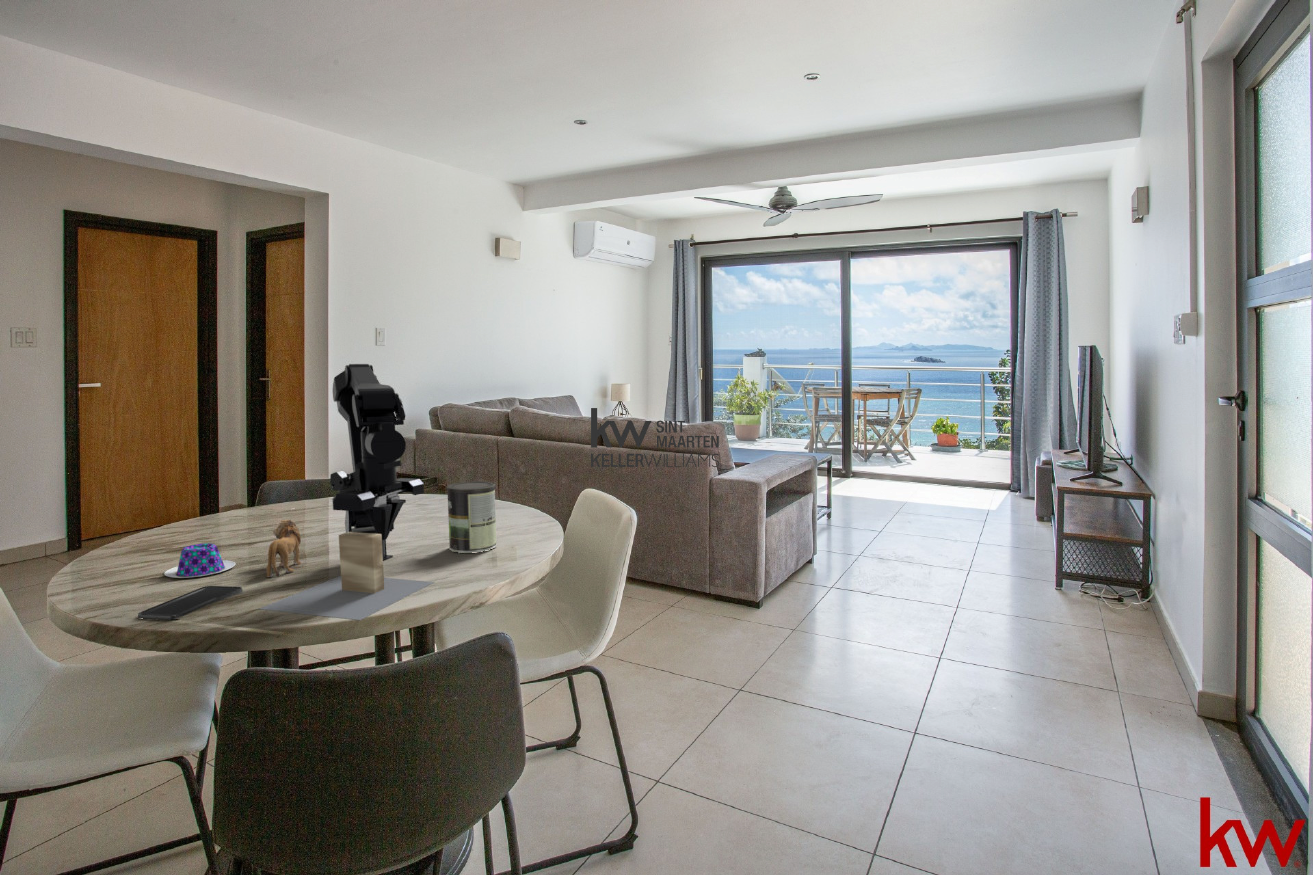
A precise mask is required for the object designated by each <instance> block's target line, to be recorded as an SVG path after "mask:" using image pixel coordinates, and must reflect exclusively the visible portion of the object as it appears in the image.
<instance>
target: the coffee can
mask: <svg viewBox="0 0 1313 875" xmlns="http://www.w3.org/2000/svg"><path fill="white" fill-rule="evenodd" d="M495 488H496V483H494V482H491V481H484V480H483V481H480V480H478V481H461V482H455V483H451V484H447V486H446V491H447V511H448V512H447V513H448V517H447V518H448V536H449V537H448V538H449V539H448V540H449V551H450V550H451V551H452V552H451V551H450V552H451V553H454V552H458V553H457V554H460V553H472V552H481V551H485V550H489V549H491V548H494V547H495V546H496V544H497V521H496V518H497V517H496V516H497V515H496V494H495V493H496V491H495Z"/></svg>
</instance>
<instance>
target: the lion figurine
mask: <svg viewBox="0 0 1313 875" xmlns="http://www.w3.org/2000/svg"><path fill="white" fill-rule="evenodd" d="M272 534H273V536H275V537H276V539H275V540H273V541H272V542H271V543H270V544H269V547H268V553H267V557H268V558H267V559H268V560H267V565H266V578H271V577H273V576H274V573H275V577H276V578H279V577H280V572H279V571H278V568H277V564H276V557H277V555H279V557H280V563H279V567H283V568H284V570H285V572H286V573H290V574H291V573H293V572H294V569H293V568H290V567H289V559H290V558H289V557H290V554H292V553H293V564H294V565H301V564H302V562H301V561H299V560H300V545H301V541H302V540H301V538H302V537H301V534H300V530H299V527H298V526H297V524H296V522H294V521H292V520H291V519H282V520H280V522H279V523H278V526H277V527H276V528H275V529H274V530H273V531H272ZM272 568H273V571H274V573H273V572H272Z"/></svg>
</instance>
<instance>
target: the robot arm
mask: <svg viewBox="0 0 1313 875" xmlns="http://www.w3.org/2000/svg"><path fill="white" fill-rule="evenodd" d="M332 399H333V402H336V406H337V413H339V414H340V416H342V418H343V419H344V421H346V423H347V428H348V438H349V446H350V448H349V449H350V454H351V455H350V456H351V465H352V472H350V473H346V472H345V470H340V471H335V472H332V473H331V474H330V480H329V483H330V489H332V490H333V491H334V492H336V491H338V493H336V494H335V495H334V497H333V498H332V499H331V500H332V509H333V511H342V512H343V511H345V517H344V518H345V519H344V528H345V533H347V532H358V533H373V534H382V553H383V562H384V561H387V560H389V559H391V558H394V555H392V554H388V553H387V539H388V537H389V535H390V533H391V532H393V530H394V529H395V524H394V523H395V521H396V518H397V517H398V515H399V513H400V512H401V509H402V507H403V506H404V504H405V503H407V500H406V499H402V498H401V499H400V495H401V494H403V493H411V494H412V496H418V495H422V494H424V493H425V487H424V482H423V481H422V480H421V479H420V478H408V477H407V478H405V477H404V478H403V477H402V478H400V477H399V478H397V467H400V466H401V465H402V462H401V460H399V459H400V458H401V457H403V455H404V453H405V451H406V447H407V446H406V445H407V444H406V441H405V438H404V436H403V434H402V433H401V432H400V431H397V430H396V426H404V424H405V420H406V412H405V409H404V405H403V401H402V399H401V398H400V396H399V394H398V393H397V392H396V391H395V388H393V387H392V386H390V385H387V384H381V382H380V381H379V380H378V377H377V375H376V374H375V373H374V368H373V365H372V364H369V363H349V364H348V365H347V364H346V365H345V367H344V370H343V371H341V372H340V373H338V374H337V375H335V376H334V378H333V383H332ZM399 494H400V495H399Z"/></svg>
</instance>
